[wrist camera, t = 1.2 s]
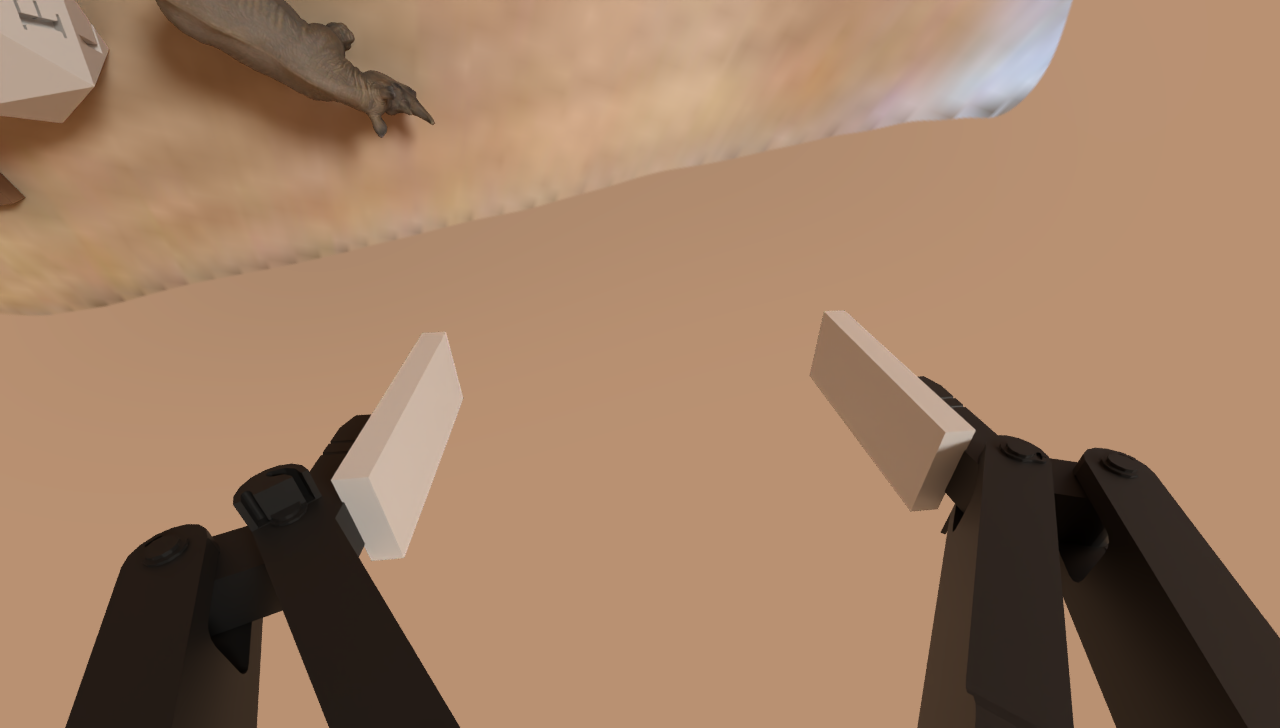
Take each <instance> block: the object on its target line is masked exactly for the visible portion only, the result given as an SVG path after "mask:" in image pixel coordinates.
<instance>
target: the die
mask: <svg viewBox="0 0 1280 728" xmlns="http://www.w3.org/2000/svg"><path fill="white" fill-rule="evenodd" d="M108 51H109V48H108V46H107V45H106V43H105V42H104V41H103V39H102V38H101V36H100V35H99V33H98V32H97V31H96V29H95V28H94V26H93V25H92V24H91V23H90V21H89V19H88V18H87V16H86V15H85V14H84V12H83V11H82V9H81V8H80V7H79V5H78V4H77V2H76V1H75V0H0V116H6V117H14V118H23V119H31V120H39V121H48V122H56V123H63V122H64V121H65V120H66V119H67V118H68V117H69V115H70V114H71V113H72V112H73V111H74V110H75V108H76V107H77V106H78V105H79V104H80V103H81V102H82V100H83V99H84V98H85V97H86V96H87V95H88V94H89V92H90V91H91V90H92V89H93V88H94V87H95V84H96V82H97V79H98V77H99V74H100V72H101V69H102V66H103V64H104V61H105V59H106V56H107V54H108Z"/></svg>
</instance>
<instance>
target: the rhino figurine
mask: <svg viewBox="0 0 1280 728" xmlns="http://www.w3.org/2000/svg"><path fill="white" fill-rule="evenodd" d="M156 2H157V4H158V6H159V7H160V9H161V11H162V12H163V13H164V15H165V16H166V17H167V18H168V20H169V21H170V22H171V23H173V24H174V25H175V26H176V27H177V28H178V29H179V30H181V31H182V32H183V33H185V34H187V35H189V36H191V37H192V38H194V39H196V40H198V41H199V42H201V43H204V44H207V45H211V46H214V47H216V48H218V49H221V50H222V51H224V52H225V53H227V54H228V55H230V56H231V57H233V58H234V59H236V60H238V61H239V62H241V63H243V64H244V65H246V66H248V67H250V68H252V69H254V70H256V71H258V72H260V73H262V74H265V75H268V76H270V77H272V78H274V79H275V80H277V81H279V82H281V83H283V84H285V85H287V86H289V87H290V88H292V89H294V90H296V91H297V92H299V93H301V94H304V95H306V96H308V97H309V98H312V99H315V100H322V101H336V102H341V103H343V104H345V105H348V106H350V107H353V108H355V109H357V110H360V111H363V112H365V113H366V114H367V115H368V116H369V117H370V119H371V121H372V124H373V128H374V130H375V132H376V133H377V134H378V136H379V137H381V138H382V137H383V136H384V135H385V134H386V132H387V126H386V124H385V122H384V121H383V120H382V118H381V116H382V114H384V113H385V112H386V113H387V114H389V115H395V114H397V113H406V114H408V115H412V114H413V115H415V116H418V117H420V118H422V119H424V120H426V121H427V122H429V123H430V124H431V125H434V124H435V123H434V120H433V118H432V117H431V116H430V115H429V113H428V112H427V111H426V110H425V109H424V107H423V106H422V105H421V104H420V103H419V101H418V100H417V98H416V92H415V91H414V90H412V89H411V88H410V87H408V86H406V85H403V84H401V83H399V82H397V81H395V80H394V79H392V78H391V77H389V76H387V75H385V74H383V73H380V72H377V71H372V70H371V71H367V72H365V73H362V72H361V71H360V70H359V69H358V68H357V67H354V66H353V65H352V63H351V62H349V61H348V60H347V59H345V50H348V49H350V48H351V43H352V42H353V41H354V35H353V33H352V32H351V31H350V30H349V29H348V28H347V26H346V25H344V24H343V23H333V22H331V23H329V24H327V25H326V26H325V25H323V24H318V23H311V24H308V23H307V22H306V21H305V20H303V19H301V18H300V17H299V15H298V14H297V13H296V12H295V11H294V9H293V8H292V7H291V6H290V5H289V4H288V3H286V2H285V1H284V0H156Z"/></svg>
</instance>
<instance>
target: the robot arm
mask: <svg viewBox="0 0 1280 728" xmlns="http://www.w3.org/2000/svg"><path fill="white" fill-rule="evenodd" d="M810 377H811V378H812V380H813V381H814V382H815V384H816V385H817V386H818V388H819V389H820V390H821V392H822V393H823V394H824V395H825V397H826V398H827V400H828V401H829V402H830V404H831V405H832V406H833V408H834V409H835V410H836V412H837V413H838V414H839V416H840V417H841V418H842V420H843V421H844V423H845V424H846V425H847V426H848V428H849V429H850V431H851V432H852V433H853V435H854V436H855V437H856V439H857V440H858V441H859V442H860V444H861V445H862V447H863V448H864V449H865V451H866V452H867V453H868V455H869V456H870V457H871V459H872V460H873V462H875V464H876V466H877V467H878V468H879V470H880V471H881V472H882V474H883V475H884V476H885V478H886V479H887V480H888V482H889V483H890V484H891V486H892V487H893V488H894V490H895V491H896V492H897V494H898V495H899V496H900V498H901V499H902V500H903V502H904V503H905V505H906V506H907V507H908V508H909V510H910V511H921V510H932V509H938V507H939V505H940V503H941V501H942V499H943V496H944V495H945V493H947V495H948V496H949V497H950V498H951V499H952V501H953V502H954V503H955V505H954V507H953V509H952V511H951V513H950V515H949V517H948V519H947V521H946V523H945V525H944V527H943V529H942V531H941V533H943V534H946V533H947V539H946V545H945V551H944V558H943V565H942V571H941V578H940V584H939V590H938V597H937V604H936V610H935V616H934V623H933V630H932V636H931V643H930V649H929V656H928V662H927V669H926V676H925V682H924V688H923V695H922V702H921V708H920V714H919V721H918V728H1074V725H1073V713H1072V701H1071V689H1070V677H1069V665H1068V653H1067V641H1066V630H1065V618H1064V607H1063V598H1064V600H1065V603H1066V605H1067V608H1068V610H1069V612H1070V615H1071V617H1072V620H1073V622H1074V625H1075V627H1076V630H1077V632H1078V634H1079V637H1080V639H1081V642H1082V644H1083V647H1084V649H1085V652H1086V654H1087V657H1088V659H1089V661H1090V664H1091V666H1092V669H1093V671H1094V674H1095V676H1096V679H1097V681H1098V684H1099V686H1100V688H1101V691H1102V693H1103V696H1104V698H1105V701H1106V703H1107V706H1108V708H1109V710H1110V713H1111V716H1112V718H1113V720H1114V723H1115V725H1116V728H1280V638H1279V637H1278V635H1277V634H1276V633H1275V631H1274V630H1273V629H1272V627H1271V626H1270V625H1269V623H1268V622H1267V621H1266V619H1265V618H1264V617H1263V616H1262V614H1261V613H1260V612H1259V610H1258V609H1257V608H1256V606H1255V605H1254V604H1253V602H1252V601H1251V600H1250V598H1249V597H1248V596H1247V594H1246V593H1245V592H1244V590H1243V589H1242V588H1241V586H1240V585H1239V584H1238V583H1237V581H1236V580H1235V579H1234V577H1233V576H1232V575H1231V573H1230V572H1229V571H1228V569H1227V568H1226V567H1225V565H1224V564H1223V563H1222V561H1221V560H1220V559H1219V558H1218V556H1217V555H1216V554H1215V552H1214V551H1213V550H1212V548H1211V547H1210V546H1209V545H1208V543H1207V542H1206V540H1205V539H1204V538H1203V537H1202V535H1201V534H1200V533H1199V531H1198V530H1197V529H1196V527H1195V526H1194V525H1193V523H1192V522H1191V521H1190V519H1189V518H1188V517H1187V516H1186V514H1185V513H1184V511H1183V510H1182V509H1181V507H1180V506H1179V505H1178V504H1177V502H1176V501H1175V500H1174V498H1173V497H1172V496H1171V494H1170V493H1169V492H1168V491H1167V489H1166V488H1165V486H1164V485H1163V484H1162V483H1161V481H1160V480H1159V478H1158V477H1157V476H1156V475H1155V473H1154V472H1152V471H1151V470H1150V469H1149V468H1148V467H1147V466H1146V465H1144V464H1143V463H1141V462H1139V461H1138V460H1136V459H1135V458H1133V457H1131V456H1129V455H1126V454H1124V453H1121V452H1117V451H1113V450H1109V449H1103V448H1092V449H1088V450H1086V452H1085V453H1084V454H1083V455H1082V457H1081V458H1080V460H1079V461H1078V462H1071V461H1064V460H1058V459H1051V458H1049V457H1048V456H1047V455H1046V454H1045V453H1044V452H1043V451H1042V450H1041V449H1040V448H1038V447H1036V446H1035V445H1033V444H1031V443H1029V442H1027V441H1024V440H1022V439H1019V438H1015V437H1011V436H1005V435H1004V436H1002V435H997V434H996V433H995V432H993V431H992V430H991V429H990V428H989V427H988V426H986V425H985V424H984V423H983V422H982V421H981V420H980V419H978V418H977V417H976V416H975V415H974V414H973V413H972V412H971V411H969V410H968V409H967V408H966V407H963V404H961V403H960V402H959V401H958V400H957V399H956V398H953V396H952V395H951V394H950V393H949V392H948V391H947V390H945V389H944V388H943V387H942V386H941V385H939V384H937V383H935V382H933V381H931V380H930V379H928V378H926V377H924V376H922V377H917V376H916V375H915V374H914V373H913V372H912V371H910V370H909V369H908V368H907V367H906V366H905V365H904V364H903V363H902V362H901V361H900V360H898V359H897V358H896V357H895V356H894V355H893V354H892V353H891V352H890V351H888V350H887V349H886V348H885V347H884V346H883V345H882V344H881V343H880V342H879V341H878V340H877V339H875V338H874V337H873V336H872V335H871V334H870V333H869V332H868V331H867V330H866V329H864V328H863V327H862V326H861V325H860V324H859V323H858V322H857V321H856V320H854V318H852V317H851V316H850V315H849V314H848V313H847V312H846V311H845V310H840V311H824V314H823V318H822V322H821V327H820V331H819V336H818V340H817V345H816V349H815V354H814V358H813V363H812V367H811V372H810ZM462 400H463V395H462V392H461V388H460V384H459V380H458V377H457V373H456V368H455V365H454V361H453V357H452V353H451V349H450V345H449V342H448V338H447V334H446V332H433V333H422V334H421V336H420V337H419V339H418V341H417V342H416V344H415V346H414V347H413V349H412V350H411V352H410V354H409V355H408V357H407V358H406V360H405V362H404V363H403V365H402V366H401V368H400V370H399V371H398V373H397V375H396V376H395V378H394V379H393V381H392V383H391V384H390V386H389V387H388V389H387V391H386V392H385V394H384V395H383V397H382V399H381V400H380V402H379V403H378V405H377V407H376V408H375V410H374V412H373V413H372V414H371V415H356V416H355V417H353V418H352V419H351V420H349V421H348V422H347V423H345V424H344V425H343V426H342V427H340V428H339V430H338V431H337V433H336V434H335V436H334V437H333V439H332V440H331V444H328V446H327V447H326V449H325V450H324V452H323V455H321V456H320V457H319V459H318V460H317V462H316V463H315V465H314V466H313V468H312V469H311V471H310V472H309V471H308V469H306V468H305V467H304V466H302V465H297V464H286V465H279V466H276V467H273V468H270V469H267V470H265V471H263V472H261V473H259V474H257V475H255V476H253V477H252V478H250V479H249V480H248V481H247V482H245V483H244V484H243V485H242V486H241V487H240V488H239V489H238V491H237V492H236V494H235V495H234V497H233V505H234V507H235V508H236V510H237V511H238V512H239V514H240V515H241V517H242V518H243V520H244V521H245V523H246V524H247V526H246V527H243V528H239V529H236V530H232V531H229V532H226V533H223V534H219V535H216V536H213V537H212V536H211V535H210V533H209V532H208V531H207V529H206V528H204V527H202V526H200V525H197V524H196V525H195V524H193V525H192V524H191V525H190V524H186V525H182V526H178V527H174V528H171V529H169V530H166V531H164V532H162V533H159V534H157V535H155V536H154V537H152V538H151V539H149V540H147V541H146V542H144V543H143V544H141V545H140V546H139V547H138V548H137V549H135V550H134V551H133V552H132V553H131V554H130V555H129V556H128V557H127V559H126V561H125V562H124V564H123V566H122V567H121V570H120V573H119V576H118V578H117V581H116V584H115V587H114V590H113V593H112V596H111V598H110V601H109V604H108V607H107V610H106V613H105V616H104V618H103V621H102V624H101V627H100V630H99V633H98V636H97V638H96V642H95V644H94V647H93V650H92V653H91V656H90V659H89V662H88V664H87V667H86V670H85V673H84V676H83V679H82V681H81V684H80V687H79V690H78V693H77V696H76V699H75V701H74V705H73V707H72V710H71V713H70V716H69V719H68V721H67V724H66V727H65V728H257V712H258V694H259V676H260V659H261V640H262V623H263V617H266V616H269V615H271V614H274V613H277V612H280V611H282V610H283V612H284V615H285V617H286V619H287V622H288V624H289V627H290V630H291V632H292V634H293V637H294V640H295V642H296V645H297V647H298V650H299V653H300V655H301V657H302V660H303V663H304V665H305V668H306V670H307V673H308V675H309V677H310V680H311V683H312V685H313V688H314V690H315V693H316V695H317V698H318V701H319V703H320V705H321V708H322V711H323V713H324V716H325V718H326V721H327V723H328V726H329V728H460V727H459V725H458V723H457V722H456V720H455V718H454V716H453V715H452V713H451V711H450V710H449V708H448V706H447V705H446V703H445V701H444V700H443V698H442V696H441V695H440V693H439V691H438V690H437V688H436V686H435V685H434V683H433V681H432V680H431V678H430V676H429V675H428V673H427V671H426V670H425V668H424V666H423V665H422V663H421V661H420V659H419V658H418V657H417V654H416V653H415V651H414V649H413V648H412V646H411V644H410V643H409V641H408V640H407V638H406V636H405V634H404V633H403V631H402V630H401V628H400V626H399V624H398V623H397V621H396V619H395V618H394V616H393V614H392V613H391V611H390V609H389V608H388V606H387V604H386V603H385V601H384V599H383V597H382V596H381V594H380V592H379V591H378V589H377V587H376V586H375V584H374V583H373V581H372V579H371V577H370V576H369V574H368V572H367V571H366V569H365V567H364V566H363V564H362V562H361V561H360V559H359V555H360V553H361V551H362V549H363V547H365V549H366V551H367V553H368V555H369V557H370V559H371V560H372V561H374V560H386V559H397V558H404V557H405V554H406V551H407V549H408V546H409V543H410V540H411V538H412V535H413V532H414V530H415V527H416V525H417V521H418V519H419V516H420V514H421V511H422V508H423V505H424V503H425V500H426V498H427V495H428V492H429V489H430V487H431V484H432V481H433V479H434V476H435V473H436V471H437V468H438V465H439V462H440V460H441V457H442V454H443V452H444V449H445V446H446V444H447V441H448V438H449V436H450V433H451V430H452V427H453V425H454V422H455V419H456V417H457V414H458V411H459V409H460V406H461V403H462ZM947 531H948V532H947Z"/></svg>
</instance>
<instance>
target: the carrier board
mask: <svg viewBox="0 0 1280 728" xmlns="http://www.w3.org/2000/svg"><path fill="white" fill-rule="evenodd" d="M24 198H25V197H24V196H23V195H22V194H21V193H20V192H19V191H18V190H17V189H16V188H15V187H14V186H13V185H12V184H11V183H10V182H9V181H8V180H7V179H6V178H5V177H4V176H3V175H2V174H1V173H0V206H1V205H8V204H14V203H16V202H18V201H20V200H22V199H24Z"/></svg>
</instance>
